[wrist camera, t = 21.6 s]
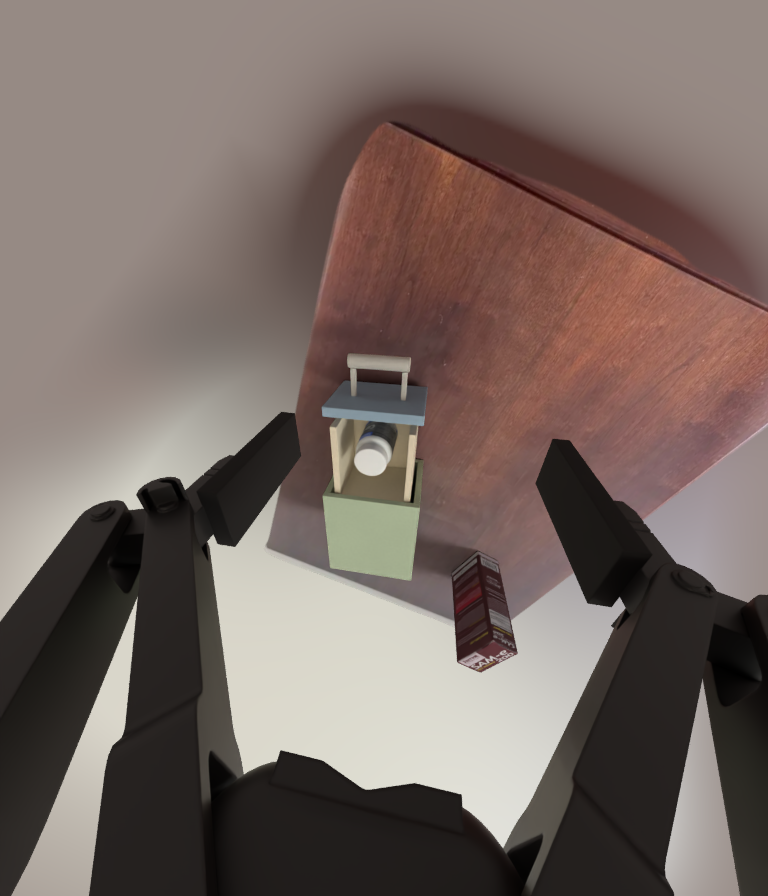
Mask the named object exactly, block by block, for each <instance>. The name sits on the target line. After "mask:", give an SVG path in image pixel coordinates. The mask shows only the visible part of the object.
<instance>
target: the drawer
mask: <svg viewBox="0 0 768 896" xmlns="http://www.w3.org/2000/svg"><path fill="white" fill-rule="evenodd" d="M347 365H348V367H349V368H350V374H351V381H343V383H342V384H341V385H340V386H339V387H338V389H337V390H336V391H335V392H334V393H333V394H332V396H331V397H330V398H329V399H328V400H327V401H326V403H325V404H324V405H323V406H322V416H323V417H333V418H336V419H335V420H334V422H333V423H332V424H331V426H330V437H331V450H332V462H333V475H334V488H335V493H336V494H344V495H352V496H359V497H367V498H375V499H383V500H391V501H399V502H407V503H410V499H411V491H412V483H413V475H414V465H415V455H416V445H417V435H418V426H424V419H425V408H426V398H427V387H419V386H407V378H408V372H410V365H411V357H400V356H385V355H370V354H355V353H349V354H348V357H347ZM356 368H360V369H373V370H387V371H401V372H402V385H394V384H381V383H369V382H357V374H356ZM369 421H376V422H386V423H395V425H396V427H397V431H398V434H397V439H396V443H395V447H394V451H393V455H392V458H391V460H390V462H389V463H388V464H387V466H386V468H385V470H384V471H383V472H382V473H381V474H379V475H376V476H368V475H365V474H363V473H361V472H360V471H359V470H358V469H357V468H356V466H355V463H354V457H355V455H356V446H357V443H358V441H359V439H360V437H361V435H362V433H363V431H364V429H365V426H366V424H367V423H368V422H369Z"/></svg>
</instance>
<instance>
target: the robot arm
mask: <svg viewBox="0 0 768 896" xmlns="http://www.w3.org/2000/svg"><path fill="white" fill-rule="evenodd" d="M300 457H301V453H300V446H299V439H298V433H297V426H296V419H295V413H287V412H281V413H280V414H278V415H277V416H276V417H275V418H274V419H273V420H272V421H271V422H270V423H269V424H268V425H267V426H266V427H265V428H264V429H262V430H261V431H260V432H259V433H258V434H257V435H256V436H255V437H254V438H253V439H252V440H251V441H250V442H249V443H247V444H246V445H245V446H244V447H243V448H242V449H241V450H240V451H239V452H238V453H237V454H236V455H235V456H232V455H229V456H227V457H225V458H223V459H221V460H219V461H218V462H217V463H216V464H215V465H213V466H212V467H211V469H209V470H208V471H207V472H206V473H204V475H202V476H201V477H200V478H199V479H198V480H196V481H195V482H194V483H193V484H192V485H191V486H190V487H189V488H188V489H186V490H185V489H184V487H183V485H182V483H181V481H180V479H178V478H176V477H165V478H160V479H157V480H154V481H151V482H149V483H147V484H146V485H144V486H143V487H142V488H140V489H139V490H138V493H137V497H138V499H139V500H140V502H141V504H142V506H143V508H144V509H137V510H128V508H127V506H126V505H125V503H124V502H122V501H118V500H115V501H107V502H104V503H100V504H98V505H95V506H93V507H91V508H90V509H88V510H86V511H85V512H84V513H83V514H82V515H81V516H80V517H79V518H78V519H77V521H76V522H75V523H74V524H73V526H72V527H71V529H70V530H69V531H68V532H67V534H66V535H65V537H64V538H63V539H62V541H61V542H60V543H59V544H58V546H57V547H56V549H55V550H54V551H53V553H52V554H51V555H50V556H49V558H48V559H47V560H46V562H45V563H44V564H43V566H42V567H41V568H40V570H39V571H38V572H37V574H36V575H35V576H34V578H33V579H32V580H31V582H30V583H29V584H28V586H27V587H26V588H25V590H24V591H23V592H22V594H21V595H20V596H19V598H18V599H17V600H16V602H15V603H14V604H13V605H12V607H11V608H10V609H9V611H8V612H7V613H6V615H5V616H4V618H3V619H2V620H1V622H0V896H11V895H12V893H13V891H14V889H15V887H16V885H17V883H18V881H19V880H20V878H21V876H22V874H23V872H24V870H25V868H26V866H27V864H28V862H29V860H30V857H31V855H32V853H33V851H34V849H35V846H36V844H37V842H38V840H39V837H40V835H41V833H42V831H43V828H44V826H45V824H46V822H47V819H48V817H49V814H50V812H51V809H52V807H53V804H54V802H55V799H56V797H57V794H58V792H59V789H60V787H61V785H62V782H63V780H64V777H65V774H66V772H67V770H68V767H69V765H70V762H71V760H72V757H73V755H74V752H75V749H76V747H77V745H78V742H79V740H80V738H81V735H82V733H83V730H84V728H85V725H86V722H87V720H88V718H89V715H90V713H91V710H92V708H93V705H94V703H95V700H96V698H97V695H98V693H99V690H100V688H101V686H102V683H103V681H104V678H105V675H106V673H107V671H108V668H109V666H110V663H111V661H112V658H113V656H114V653H115V651H116V648H117V646H118V644H119V641H120V639H121V636H122V634H123V631H124V629H125V626H126V623H127V621H128V619H129V616H130V614H131V611H132V609H133V606H134V604H135V601H136V599H137V597H138V601H137V611H136V621H135V631H134V643H133V652H132V662H131V673H130V683H129V693H128V703H127V714H126V724H125V730H124V733H123V736H122V738H121V739H120V740H119V741H117V742H116V743H115V744H114V745H113V746H112V749H111V751H110V753H109V756H108V760H107V764H106V769H105V776H104V783H103V792H102V799H101V806H100V814H99V822H98V830H97V838H96V845H95V853H94V861H93V869H92V877H91V885H90V892H89V896H674V892H673V890H672V888H671V887H670V885H669V883H668V881H667V879H666V877H665V862H666V856H667V851H668V846H669V841H670V836H671V831H672V827H673V822H674V817H675V812H676V807H677V802H678V797H679V792H680V787H681V782H682V777H683V772H684V767H685V762H686V757H687V753H688V747H689V742H690V737H691V733H692V727H693V723H694V718H695V713H696V708H697V703H698V698H699V693H700V688H701V683H702V679H703V683H704V689H705V694H706V700H707V705H708V712H709V718H710V723H711V729H712V735H713V741H714V747H715V753H716V758H717V764H718V770H719V776H720V782H721V787H722V793H723V799H724V805H725V810H726V816H727V822H728V828H729V834H730V839H731V845H732V851H733V857H734V863H735V869H736V874H737V880H738V886H739V891H740V896H768V595H758V596H756V597H755V598H753V599H752V600H751V601H750V602H749V603H747V602H744V601H742V600H739V599H736V598H733V597H730V596H728V595H725V594H722V593H719V592H717V591H716V589H715V588H714V587H713V585H712V584H711V583H710V582H709V581H708V580H706V579H705V578H704V577H703V576H701V575H700V574H698V573H697V572H695V571H693V570H692V569H690V568H687V567H685V566H682V565H679V564H676V562H675V561H674V560H673V559H672V557H671V556H670V555H669V554H668V552H667V551H666V550H665V548H664V547H663V546H662V545H661V543H660V542H659V541H658V540H657V538H656V537H655V536H654V534H653V533H651V532H650V529H649V528H648V527H647V526H646V524H644V522H643V520H642V519H641V518H640V517H639V515H638V514H637V513H636V512H635V511H634V510H633V509H632V508H630V507H629V506H628V505H626V504H625V503H624V502H622V501H613V499H612V498H611V497H610V495H609V494H608V492H607V491H606V490H605V488H604V487H603V486H602V484H601V483H600V481H599V480H598V479H597V477H596V476H595V475H594V473H593V472H592V470H591V469H590V468H589V466H588V465H587V464H586V462H585V461H584V460H583V458H582V457H581V455H580V454H579V453H578V451H577V450H576V449H575V447H574V446H573V444H572V443H571V442H570V440H560V439H553V440H552V442H551V445H550V447H549V450H548V452H547V455H546V458H545V460H544V463H543V465H542V468H541V471H540V473H539V476H538V478H537V481H536V485H537V488H538V490H539V492H540V495H541V497H542V499H543V502H544V504H545V506H546V509H547V511H548V513H549V516H550V518H551V520H552V522H553V525H554V527H555V529H556V532H557V534H558V536H559V539H560V541H561V543H562V546H563V548H564V550H565V553H566V555H567V557H568V559H569V562H570V564H571V566H572V569H573V571H574V573H575V575H576V578H577V580H578V583H579V585H580V587H581V590H582V592H583V594H584V596H585V599H586V601H587V603H588V604H595V605H601V606H608V607H612V606H613V605H614V603H615V602H616V601H617V599H618V598H619V597H620V598H621V600H622V602H623V603H624V605H625V607H626V608H625V610H624V611H623V612H622V613H621V614H620V616H619V617H618V618H617V619H616V620H615V622H614V623H613V624H612V625H611V626H612V627H613V628H614V629H613V632H612V634H611V636H610V638H609V640H608V642H607V644H606V646H605V648H604V650H603V652H602V654H601V657H600V659H599V661H598V663H597V665H596V667H595V669H594V671H593V673H592V675H591V677H590V679H589V682H588V684H587V686H586V688H585V690H584V692H583V694H582V696H581V698H580V700H579V702H578V704H577V707H576V708H575V711H574V713H573V715H572V717H571V719H570V721H569V723H568V725H567V727H566V729H565V731H564V734H563V736H562V738H561V740H560V742H559V744H558V746H557V748H556V750H555V752H554V754H553V756H552V759H551V760H550V763H549V765H548V767H547V769H546V771H545V773H544V775H543V777H542V779H541V781H540V783H539V785H538V787H537V790H536V792H535V794H534V796H533V798H532V800H531V802H530V803H529V805H528V807H527V809H526V810H525V811H524V813H523V814H522V816H521V817H520V819H519V820H518V822H517V823H516V825H515V827H514V829H513V830H512V832H511V834H510V836H509V838H508V840H507V842H506V844H505V846H504V848H502V847H501V845H500V844H499V843H498V842H497V840H496V839H495V837H494V836H493V835H492V834H491V832H490V831H489V830H488V829H487V828H486V827H485V826H484V825H483V824H482V823H481V822H480V821H479V820H478V819H477V818H476V817H475V816H473V815H472V814H471V813H470V812H469V811H467V810H466V809H464V808H463V807H462V795H461V794H457V793H453V792H449V791H445V790H440V789H436V788H432V787H428V786H424V785H420V784H415V783H413V784H407V785H399V786H392V787H386V788H379V789H372V790H365V789H362V788H361V787H359V786H358V785H356V784H355V783H354V782H352V781H351V780H349V779H348V778H346V777H345V776H344V775H342V774H341V773H339V772H338V771H337V770H335V769H333V768H332V767H331V766H329V765H328V764H327V763H325V762H324V761H322V760H318V759H314V758H310V757H306V756H302V755H297V754H294V753H289V752H285V751H280V754H279V757H278V760H277V762H271V763H268V764H265V765H262V766H259V767H257V768H255V769H253V770H251V771H249V772H247V773H246V774H243V767H242V761H241V757H240V752H239V749H238V745H237V742H236V739H235V735H234V730H233V724H232V716H231V708H230V701H229V693H228V685H227V678H226V671H225V663H224V655H223V647H222V639H221V632H220V624H219V616H218V609H217V601H216V594H215V586H214V579H213V571H212V563H211V555H210V548H209V545H208V543H207V541H208V540H209V539H210V537H211V536H212V535H213V534H214V537H215V539H216V541H217V543H218V544H220V545H227V546H233V547H235V546H236V545H237V544H238V542H239V541H240V540H241V538H242V537H243V535H244V534H245V532H246V531H247V530H248V528H249V527H250V526H251V524H252V523H253V522H254V520H255V519H256V517H257V516H258V515H259V513H260V512H261V511H262V509H263V508H264V506H265V505H266V504H267V502H268V501H269V499H270V498H271V497H272V495H273V494H274V492H275V491H276V490H277V488H278V487H279V486H280V484H281V483H282V481H283V480H284V479H285V477H286V476H287V475H288V473H289V472H290V470H291V469H292V468H293V466H294V465H295V463H296V462H297V461H298V459H299V458H300Z"/></svg>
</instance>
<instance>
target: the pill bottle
mask: <svg viewBox="0 0 768 896" xmlns="http://www.w3.org/2000/svg"><path fill="white" fill-rule="evenodd" d="M397 434H398V431H397V427H396V425H395V423H386V422H376V421H369V422H368V423H367V424H366V426H365V429H364V431H363V433H362V435H361V437H360V439H359V441H358V443H357V446H356V455H355V457H354V463H355V466H356V468H357V469H358V470H359V471H360V472H361V473H363V474H365V475H368V476H376V475H379V474H381V473H382V472H383V471H384V470H385V468H386V466H387V464H388V463H389V462H390V460H391V458H392V455H393V451H394V447H395V443H396V439H397Z"/></svg>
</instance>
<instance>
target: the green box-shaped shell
mask: <svg viewBox="0 0 768 896" xmlns="http://www.w3.org/2000/svg"><path fill="white" fill-rule="evenodd" d="M422 473H423V460H419V459H415V465H414V475H413V483H412V491H411V499H410V503H407V502H399V501H391V500H383V499H375V498H367V497H359V496H352V495H344V494H336V493H335V488H334V475H333V477H332V479H331V480H330V482H329V484H328V486H327V488H326V490H325V492H324V494H323V504H324V514H325V523H326V533H327V542H328V552H329V561H330V568H334V569H341V570H347V571H353V572H359V573H366V574H372V575H378V576H385V577H391V578H397V579H404V580H410V581H411V577H412V568H413V560H414V552H415V543H416V535H417V527H418V518H419V510H420V498H421V486H422Z"/></svg>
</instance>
